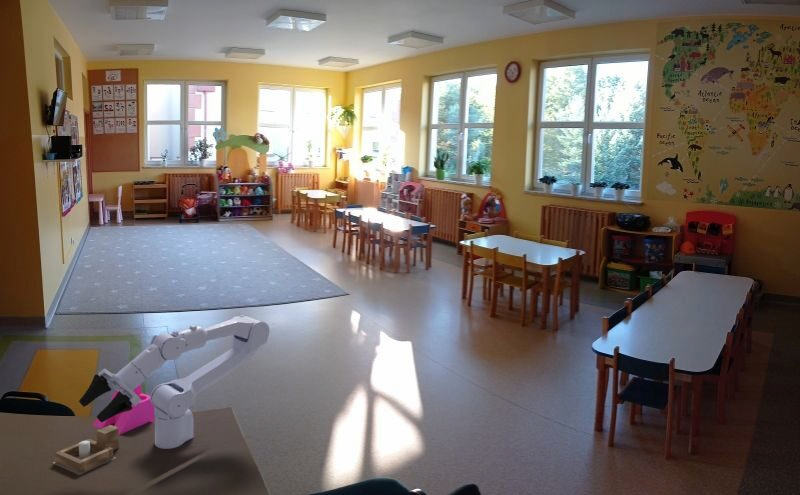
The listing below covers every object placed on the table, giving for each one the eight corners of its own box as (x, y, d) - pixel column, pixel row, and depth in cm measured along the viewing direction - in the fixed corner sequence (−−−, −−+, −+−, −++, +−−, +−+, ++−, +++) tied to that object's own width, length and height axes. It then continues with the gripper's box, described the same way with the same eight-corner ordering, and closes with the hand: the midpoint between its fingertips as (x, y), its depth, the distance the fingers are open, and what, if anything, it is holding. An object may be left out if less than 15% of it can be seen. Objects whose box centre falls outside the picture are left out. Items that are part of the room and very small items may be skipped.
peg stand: (89, 450, 160) (89, 430, 159) (116, 461, 156) (116, 440, 155) (52, 466, 151) (51, 445, 151) (79, 479, 147) (79, 456, 146)
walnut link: (103, 442, 163) (102, 421, 162) (126, 451, 159) (126, 430, 158) (55, 462, 152) (54, 441, 151) (79, 473, 147) (79, 451, 147)
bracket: (128, 414, 182) (128, 380, 181) (154, 423, 178) (154, 388, 176) (91, 429, 172) (91, 393, 170) (118, 439, 167) (117, 402, 166)
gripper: (114, 348, 157) (65, 387, 149) (148, 375, 149) (99, 418, 142) (125, 365, 161) (79, 404, 154) (159, 392, 154) (112, 434, 147)
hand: (89, 411), depth 149 cm, fingers open, 7 cm apart
